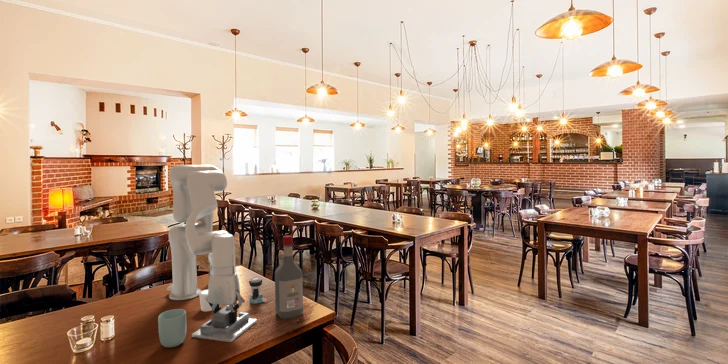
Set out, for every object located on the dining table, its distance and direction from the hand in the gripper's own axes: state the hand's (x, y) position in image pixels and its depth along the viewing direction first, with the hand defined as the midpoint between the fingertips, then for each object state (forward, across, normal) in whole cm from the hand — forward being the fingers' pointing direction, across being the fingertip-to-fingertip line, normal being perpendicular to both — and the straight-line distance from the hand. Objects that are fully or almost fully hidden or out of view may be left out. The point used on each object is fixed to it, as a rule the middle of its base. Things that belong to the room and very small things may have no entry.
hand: (225, 320), depth 122 cm
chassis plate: (+3, 0, 0) cm, 3 cm away
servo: (+2, 0, 0) cm, 2 cm away
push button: (+3, -2, +24) cm, 24 cm away
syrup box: (+3, -36, +43) cm, 56 cm away
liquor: (+3, +16, +17) cm, 23 cm away
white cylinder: (+3, -18, +14) cm, 23 cm away
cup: (+3, -10, -13) cm, 17 cm away
